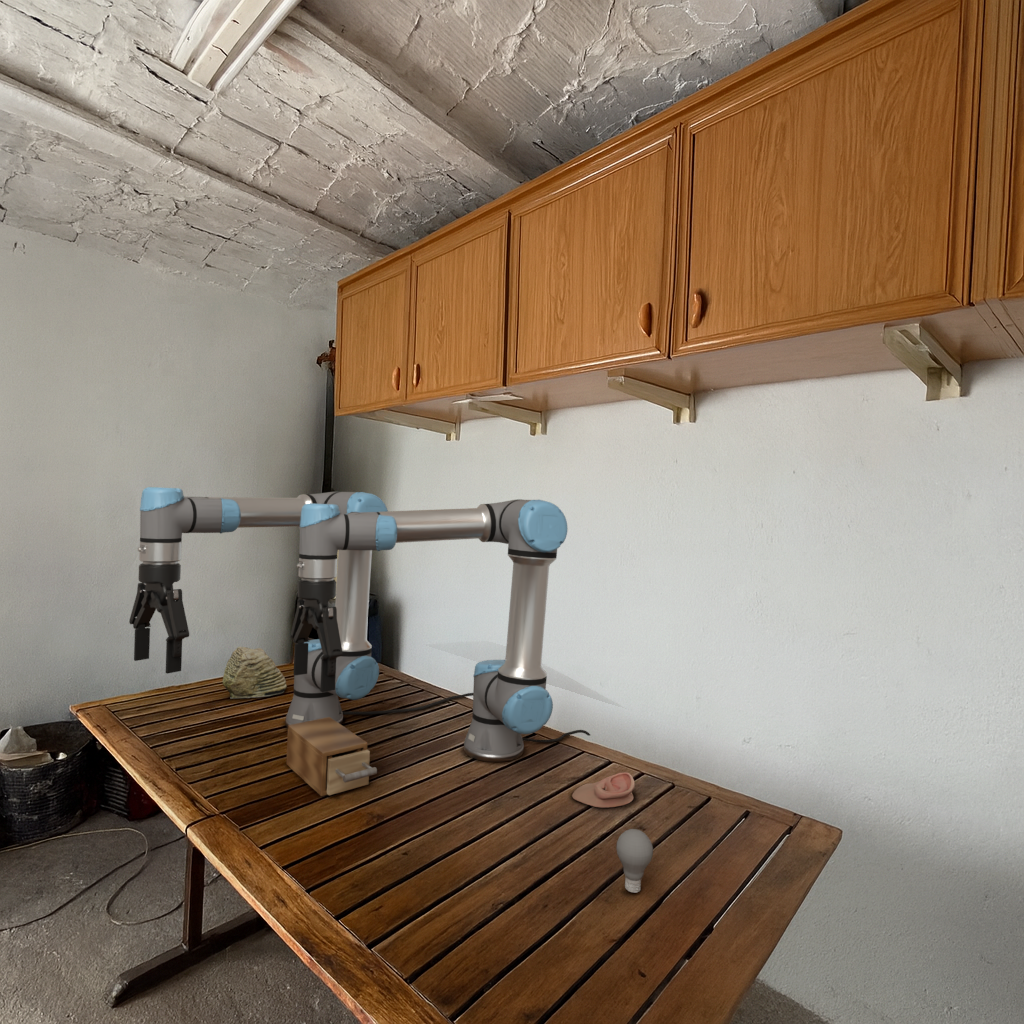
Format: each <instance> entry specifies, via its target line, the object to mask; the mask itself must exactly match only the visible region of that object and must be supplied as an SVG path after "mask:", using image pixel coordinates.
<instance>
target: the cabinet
mask: <svg viewBox="0 0 1024 1024" xmlns="http://www.w3.org/2000/svg"><path fill="white" fill-rule="evenodd" d="M286 739H287V740H286V741H287V742H286V765H287V766H288V767H289V768H290V769H291V770H292V771H293V772H294V773H295V774H296V775H297V776H298V777H300V778H301V779H302V780H303V781H304V782H305V783H306V784H307V785H308V786H309V787H310V788H311V789H313V790H314V791H315V793H317V794H318V795H319V796H320V797H324V796H329V795H328V794H327V787H326V766H327V756H331V755H335V754H339V753H343V752H347V751H351V750H356V749H361V751H363V750H368V742H367V741H366V740H364V739H363V738H361V737H360V736H359V735H358V734H355V732H352V731H351V730H350V729H348V728H346V727H345V726H344V725H342V723H341V724H339V723H338V722H336V721H335V720H333V719H332V718H330V717H327V718H322V719H317V720H312V721H307V722H302V723H297V724H292V725H288V727H287V738H286Z"/></svg>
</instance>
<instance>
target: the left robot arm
mask: <svg viewBox="0 0 1024 1024" xmlns="http://www.w3.org/2000/svg"><path fill="white" fill-rule="evenodd" d="M309 503H313V504H335V505H338V506H339V511H340V514H347V513H349V512H386V511H389V510H388V508H387V506H386V503H385V502H384V501H383V500H382V499H381V498H380V497H379V496H377V494H373V493H371V492H364V491H327V492H322V493H303V494H299V495H298V496H296V497H264V496H263V497H259V496H258V497H257V496H256V497H255V496H252V497H251V496H249V497H248V496H185V495H184V491H183V489H182V488H179V487H159V486H158V487H157V486H156V487H155V486H148V487H145V488H144V489H143V490H142V492H141V497H140V506H139V515H140V516H139V519H140V520H139V522H140V523H139V526H140V527H139V532H140V533H139V535H140V536H139V546H138V547H137V552H138V553H139V557H138V558H139V561H140V562H142V563H140V564H139V565H138V583H137V589H136V596H135V599H134V602H133V606H132V610H131V613H130V617H129V620H128V623H129V624H130V625H132V627H133V628H132V629H134V642H133V643H134V645H133V647H134V648H133V649H134V650H133V661H134V662H137V661H144V660H149V659H150V644H151V643H150V642H151V641H150V639H151V638H150V637H151V627H152V625H151V623H150V622H151V620H152V619H153V616H154V614H155V612H158V613H159V614H160V615H161V619H162V621H163V625H164V627H165V630H166V633H167V637H166V639H165V642H166V643H165V644H166V647H165V674H172V673H178V672H182V661H183V660H182V659H183V640H184V639H185V638H189V637H190V631H189V625H188V621H187V615H186V611H185V606H184V601H183V589H182V588H176V589H174V584H175V583H178V582H179V581H180V580H181V574H182V573H181V571H182V569H181V567H182V565H181V564H180V563H179V562H180V561H181V560H182V548H183V547H182V546H183V544H182V542H183V541H182V540H183V538H182V537H183V534H223V533H224V534H225V533H233V532H235V531H236V530H237V529H239V528H245V529H246V528H279V527H280V528H282V527H297V528H298V529H299V530H300V521H301V510H302V507H303V506H304V505H305V504H309ZM372 555H373V550H338V555H337V577H336V596H335V602H334V603H335V605H334V607H336V609H337V623H338V629H339V635H340V641H341V647H342V653H343V655H342V656H340V657H338V658H336V677H335V690H332V691H326V692H321V691H320V688H321V661H322V660H321V657H322V656H323V651H322V647H321V644H320V640H319V638H317V639H309V640H308V641H309V642H304V643H308V668H307V674H302V675H294V674H293V695H292V696H293V697H292V699H291V702H290V704H289V708H288V711H287V713H286V715H285V726H286V728H288V725H292V724H297V723H302V722H307V721H312V720H317V719H322V718H327V717H330V718H332V719H333V720H335V721H336V722H338V723H339V724H341V725H342V723H343V722H344V716H348V715H349V716H351V715H352V716H353V715H354V716H365V715H367V716H371V715H387V714H397V713H407V712H409V713H410V712H415V711H421V710H426V709H428V708H431V707H433V706H437V705H439V704H442V703H446V702H448V701H451V700H454V699H455V700H456V699H462V698H465V697H467V698H468V697H471V696H472V697H473V692H468V693H464V694H463V693H462V694H458V695H451V696H449V697H445V698H442V699H440V700H437V701H433V702H431V703H428V704H426V705H421V706H417V707H410V708H399V709H387V710H373V711H372V710H371V711H343V709H342V706H341V702H340V699H339V698H341V699H347V700H351V701H357V700H360V699H363V698H364V697H366V696H367V695H368V694H370V692H371V690H373V689H374V688H375V687H376V684H377V682H378V680H379V676H380V666H379V664H378V663H379V662H377V660H376V659H375V658H374V657H373V656H372V647H373V645H372V643H370V641H368V639H367V635H368V617H369V602H370V588H371V571H372V570H371V569H372Z"/></svg>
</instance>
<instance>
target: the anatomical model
mask: <svg viewBox="0 0 1024 1024" xmlns="http://www.w3.org/2000/svg"><path fill="white" fill-rule="evenodd" d="M635 786H636V784H635V779H634V777H633V775H631V773H630V772H627V771H625V772H619V773H615V774H612V775H610V776H607V777H604V778H602V779H601V780H599V781H596V782H593V783H592V782H591V783H590V782H589V783H584V784H582V785H579V787H577V788H576V789H575V790H574V791H573V793H572V795H571V798H572V799H573V800H575V801H577V802H580V803H582V804H584V805H587V806H591V807H594V808H602V809H603V808H615V807H621V806H625V805H628V804H630V803H632V801H633V800H634V794H633V791H634V789H635Z"/></svg>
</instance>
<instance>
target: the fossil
mask: <svg viewBox="0 0 1024 1024" xmlns="http://www.w3.org/2000/svg"><path fill="white" fill-rule="evenodd" d="M222 676H223V677H222V685H223V687H224V688H225V690H226V691H228V693H229V698H230V699H250V698H264V697H271V696H275V695H281V694H284V693H285V691H286V689H287V687H288V686H287V680H286V678H285V676H284V674H283V673H282V672H281V669H279V668H278V667H277V665H276V663H275V662H274V660H273V659H272V658H271V657H270V656H269V655H268V654H267V653H266V652H265V650H264V649H263V648H260V647H258V648H251V647H247V646H246V647H245V646H238V647H237V648H236V649H235V650H233V651H232V653H231V656H230V657H229V659H228V660H227V663H226V666H225V668H224V671H223V675H222Z"/></svg>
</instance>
